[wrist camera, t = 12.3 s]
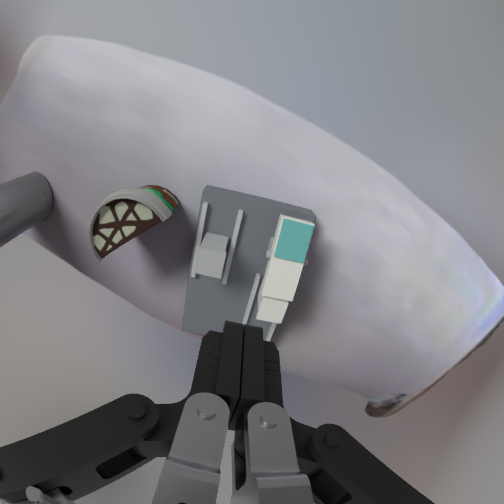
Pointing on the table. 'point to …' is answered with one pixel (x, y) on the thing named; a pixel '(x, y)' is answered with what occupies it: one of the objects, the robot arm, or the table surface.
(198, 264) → the grey slider
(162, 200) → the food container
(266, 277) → the rocker
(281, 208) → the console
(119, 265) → the table surface
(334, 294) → the table surface
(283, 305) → the white slider
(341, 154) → the table surface
